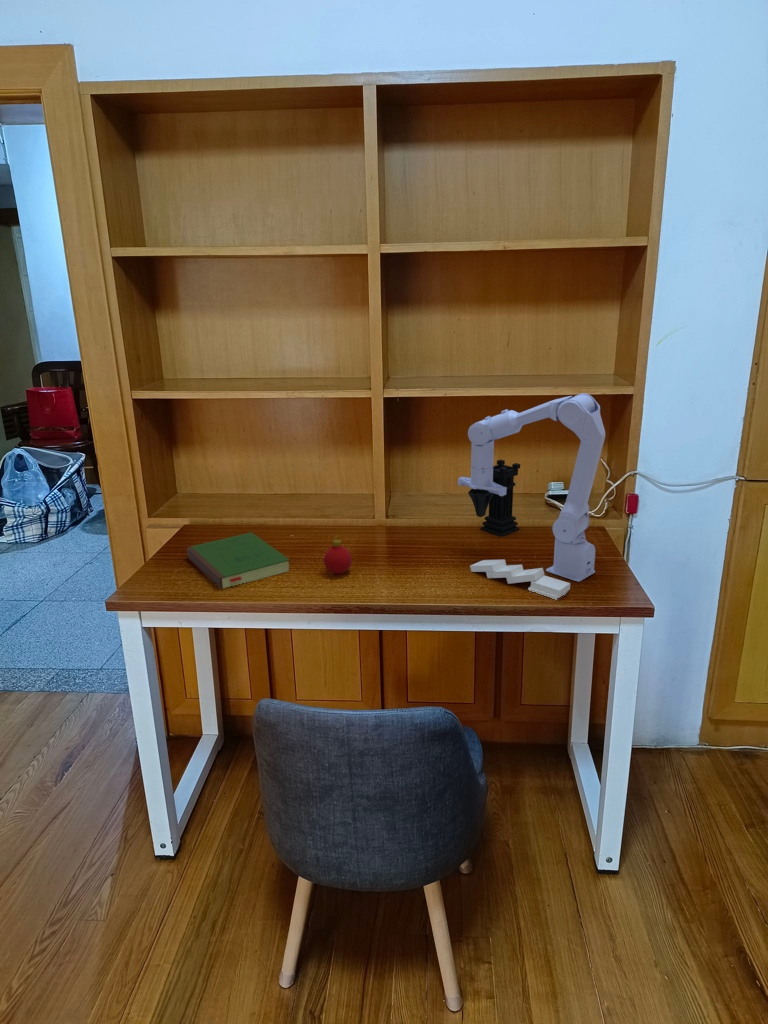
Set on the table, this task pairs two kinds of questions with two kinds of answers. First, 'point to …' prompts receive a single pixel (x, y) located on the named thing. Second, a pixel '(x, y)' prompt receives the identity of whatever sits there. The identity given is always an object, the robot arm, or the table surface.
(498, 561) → the domino
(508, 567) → the domino
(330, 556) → the christmas ornament
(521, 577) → the domino
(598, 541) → the table surface
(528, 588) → the domino
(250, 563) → the hardcover book
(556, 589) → the domino
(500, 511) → the chess piece
